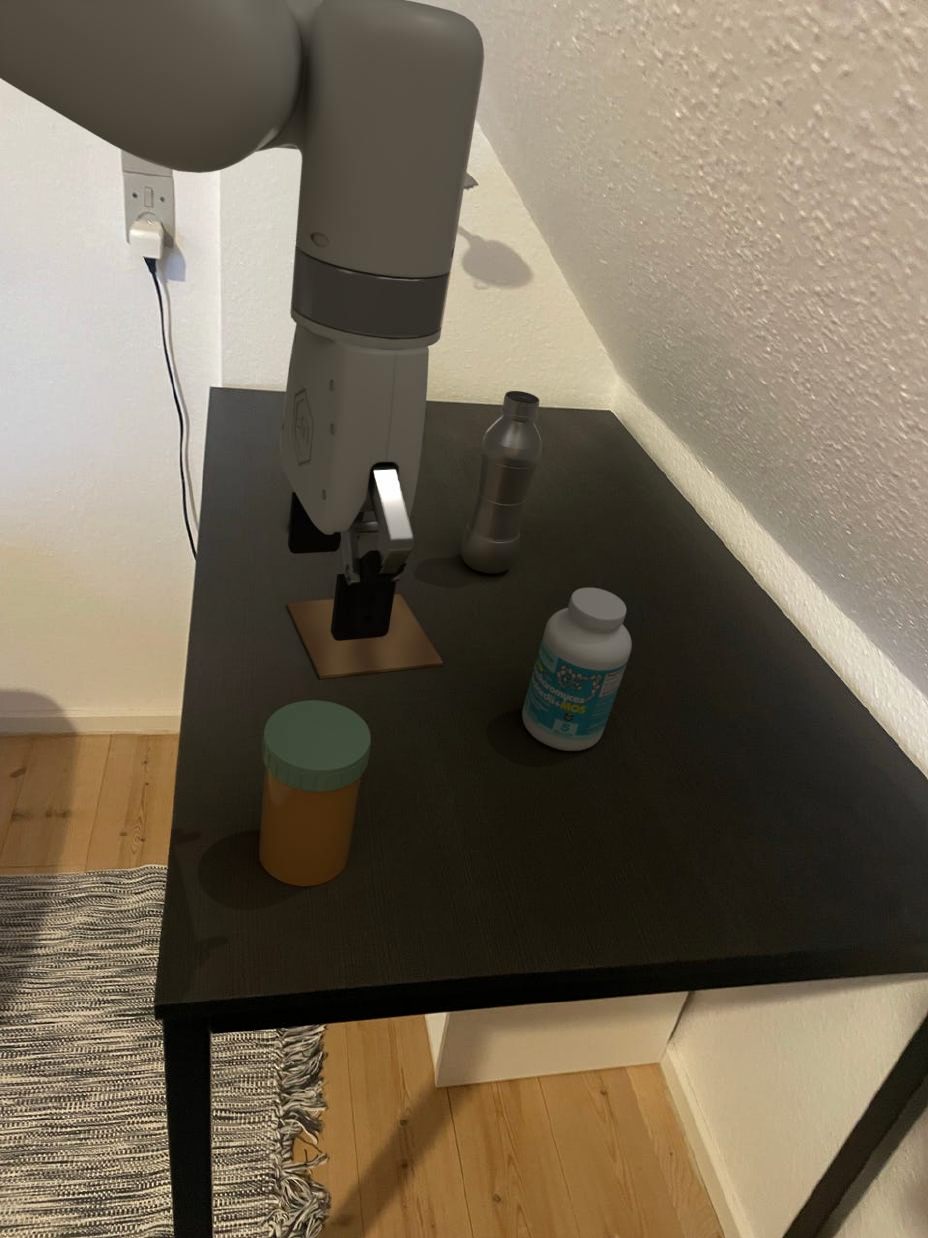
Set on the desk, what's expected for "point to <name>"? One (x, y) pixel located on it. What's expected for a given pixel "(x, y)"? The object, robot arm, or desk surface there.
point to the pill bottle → (578, 671)
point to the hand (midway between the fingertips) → (334, 590)
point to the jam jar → (306, 831)
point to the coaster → (362, 642)
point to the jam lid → (316, 745)
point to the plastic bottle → (503, 485)
